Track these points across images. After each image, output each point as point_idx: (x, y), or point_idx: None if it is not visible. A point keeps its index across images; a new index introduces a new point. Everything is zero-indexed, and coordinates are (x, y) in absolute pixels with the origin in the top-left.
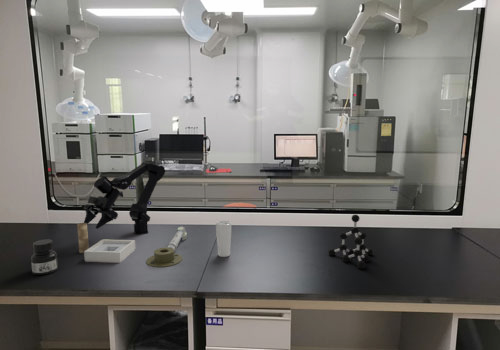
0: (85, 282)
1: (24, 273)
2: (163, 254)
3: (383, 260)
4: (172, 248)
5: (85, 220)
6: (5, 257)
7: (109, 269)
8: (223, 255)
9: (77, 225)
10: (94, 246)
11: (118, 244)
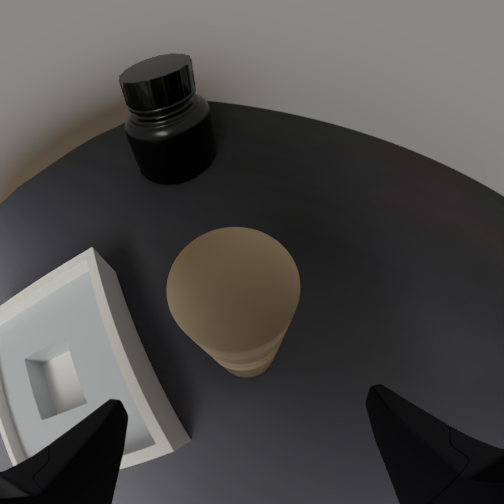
0: (27, 199)
1: (219, 127)
2: None
3: None
4: None
5: (402, 416)
6: (408, 150)
7: (10, 278)
8: None
9: (250, 233)
10: (106, 330)
11: None
